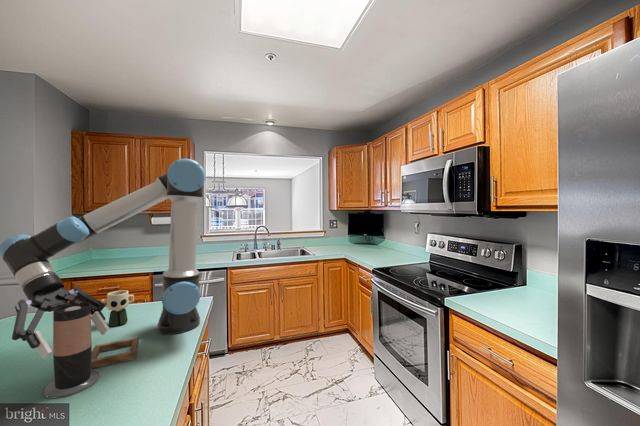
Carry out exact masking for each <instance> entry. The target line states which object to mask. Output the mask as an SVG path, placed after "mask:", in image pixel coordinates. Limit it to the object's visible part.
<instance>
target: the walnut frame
mask: <svg viewBox="0 0 640 426" xmlns="http://www.w3.org/2000/svg"><path fill="white" fill-rule="evenodd" d="M139 338H140V337H139V336H138V337H133V338H128V339H122V340H115V341H112V342H105V343H100V344H95V345H94V346H93V349H91V369H95V368H100V367H106V366H109V365H114V364H119V363H123V362H128V361H132V360H136V356H137V351H138V348H139V344H140V343H139V341H140V339H139ZM128 347H130V349H129V351H126V352H122V353H117V354H113V355H108V356H104V357H99V356H100V353H103V352H108V351H113V350H118V349H122V348H128Z"/></svg>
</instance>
